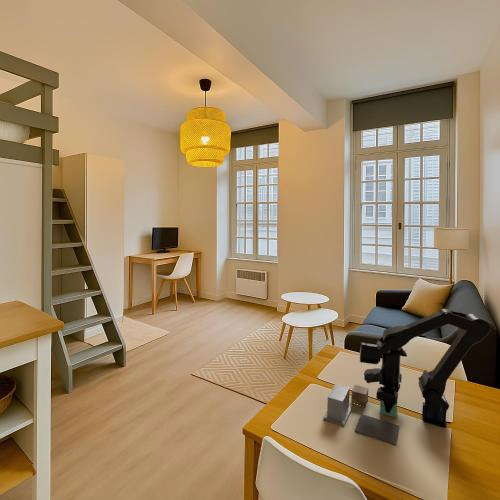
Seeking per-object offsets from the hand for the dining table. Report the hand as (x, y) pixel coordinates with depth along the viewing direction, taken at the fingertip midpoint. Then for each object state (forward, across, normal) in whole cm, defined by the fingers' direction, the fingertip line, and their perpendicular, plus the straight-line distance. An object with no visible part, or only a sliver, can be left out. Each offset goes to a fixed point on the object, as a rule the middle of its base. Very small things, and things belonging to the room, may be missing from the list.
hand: (388, 408), depth 111 cm
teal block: (+1, 0, 0) cm, 1 cm away
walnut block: (+1, -1, -10) cm, 10 cm away
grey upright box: (+1, +10, -15) cm, 18 cm away
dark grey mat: (+1, +12, -2) cm, 12 cm away
